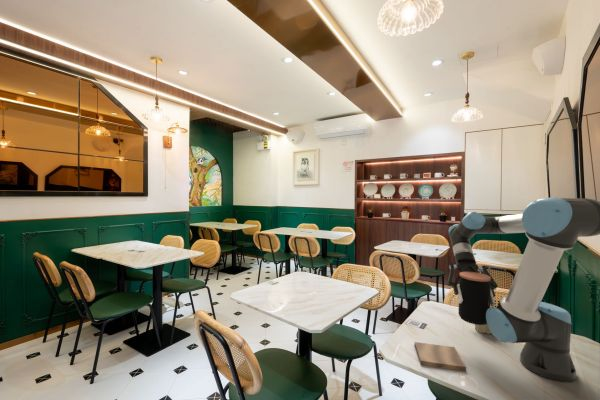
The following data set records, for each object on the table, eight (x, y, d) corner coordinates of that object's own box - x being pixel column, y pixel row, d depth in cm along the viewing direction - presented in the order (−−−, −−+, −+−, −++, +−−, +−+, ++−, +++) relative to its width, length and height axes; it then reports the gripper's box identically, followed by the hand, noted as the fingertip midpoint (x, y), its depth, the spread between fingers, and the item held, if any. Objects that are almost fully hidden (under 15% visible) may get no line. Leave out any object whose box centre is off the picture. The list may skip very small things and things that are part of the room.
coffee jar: (495, 327, 104) (496, 280, 103) (464, 324, 106) (465, 278, 106) (482, 315, 114) (483, 272, 114) (454, 312, 116) (455, 270, 116)
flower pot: (495, 329, 128) (495, 311, 128) (496, 338, 120) (497, 318, 120) (471, 323, 133) (472, 306, 133) (471, 332, 125) (471, 313, 125)
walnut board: (454, 350, 110) (454, 347, 110) (466, 371, 97) (466, 367, 97) (414, 345, 113) (414, 341, 113) (420, 364, 101) (420, 360, 100)
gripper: (490, 261, 122) (507, 310, 107) (434, 258, 127) (442, 304, 112) (496, 252, 117) (514, 302, 102) (437, 249, 122) (446, 296, 107)
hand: (477, 303), depth 107 cm, fingers closed on coffee jar, 11 cm apart
